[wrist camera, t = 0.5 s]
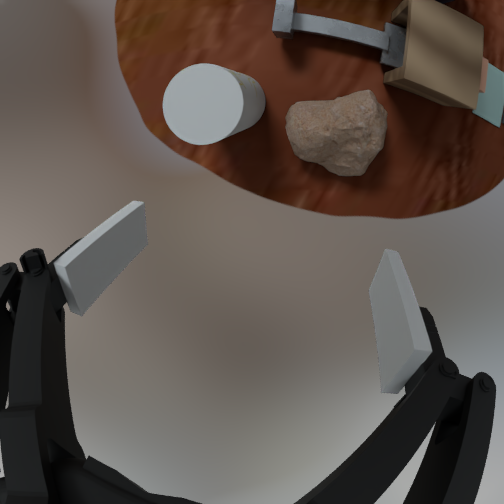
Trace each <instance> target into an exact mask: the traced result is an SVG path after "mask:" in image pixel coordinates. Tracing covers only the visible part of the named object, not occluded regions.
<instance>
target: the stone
mask: <svg viewBox="0 0 504 504" xmlns="http://www.w3.org/2000/svg"><path fill="white" fill-rule="evenodd" d="M387 115H388V114H387V112H386V110H385V109H384V108H383V106H382V105H381V104H379V103H378V102H377V99H376V97H375V95H374V94H373V92H372V91H370V90H365V91H358V92H355V93H352V94H350V95H348V96H344V97H337V98H336V99H335V100H328V101H322V100H320V101H301V102H296V103H295V104H294V105H292V106H291V107H290V108H289V111H288V113H287V115H286V117H285V119H286V123H287V124H286V127H285V128H286V131H287V135H288V139H289V141H290V143H291V146H292V149H293V151H294V154H295V155H296V156H298V157H299V158H300V159H302V160H305V161H307V162H312V163H318V164H319V165H322V166H324V167H325V168H326V169H327V170H328V171H330V172H332V173H335V174H337V175H339V176H361V175H362V174H364V173H365V172H366V169H367V167H368V166H369V164H370V163H371V162H372V161H373V160H374V158H375V156H376V155H377V154H378V152H379V151H380V150H382V148H383V147H384V139H385V134H386V129H387V121H386V119H387Z"/></svg>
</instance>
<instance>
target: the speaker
mask: <svg viewBox="0 0 504 504" xmlns="http://www.w3.org/2000/svg"><path fill="white" fill-rule="evenodd" d="M435 1H437V2H439V3H441V4H443V3H447V2H451V1H454V0H435Z"/></svg>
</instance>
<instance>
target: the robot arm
mask: <svg viewBox="0 0 504 504" xmlns="http://www.w3.org/2000/svg"><path fill="white" fill-rule="evenodd" d="M147 245H148V241H147V230H146V217H145V203H144V202H139V201H132V202H131V203H129V204H128V205H127V206H125V207H124V208H122V209H121V210H120V211H118V212H117V213H115V214H114V215H113V216H111V217H110V218H109V219H107V220H106V221H105V222H103V223H102V224H101V225H99V226H98V227H97V228H96V229H94V230H93V231H92V232H90V233H89V234H88V235H86V236H85V237H83V238H81V239H79V240H77V241H75V242H74V243H73V244H72V245H70V247H68V248H67V249H66V250H65V251H63V252H62V253H61V254H60V255H58V256H57V257H56V258H55V259H54V260H52V261H51V262H50V263H49V264H47V261H46V258H45V254H44V251H43V250H42V249H39V248H35V249H31V250H28V251H27V252H25V253H24V254H23V255H22V256H21V257H20V262H21V265H22V268H23V271H24V272H19V270H18V267H17V265H16V264H15V263H6V264H4V265H3V266H1V267H0V441H1V453H2V461H3V469H4V475H5V477H2V478H0V504H201V503H198V502H194V501H191V500H188V499H184V498H179V497H172V496H165V495H158V494H152V493H148V492H147V491H145V490H144V489H143V488H141V487H140V486H138V485H137V484H136V483H134V482H132V481H131V480H129V479H128V478H127V477H125V476H124V475H122V474H121V473H119V472H118V471H116V470H115V469H113V468H110V467H109V466H107V465H105V464H103V463H101V462H99V461H97V460H96V459H94V458H92V457H90V456H88V458H87V459H86V458H85V454H84V452H83V449H82V447H81V446H80V444H79V442H78V440H77V438H76V434H75V429H74V424H73V417H72V412H71V404H70V397H69V389H68V379H67V368H66V352H65V311H64V308H63V305H64V304H65V303H66V302H67V303H68V306H69V308H70V310H71V312H73V313H75V314H78V315H80V316H83V314H84V313H85V312H86V311H87V310H88V308H89V307H90V306H91V305H92V304H93V303H94V301H96V299H97V298H98V297H99V296H100V295H101V294H102V293H103V291H104V290H105V289H106V288H107V287H108V286H109V285H110V284H111V283H112V282H113V280H114V279H115V278H116V277H117V276H118V275H119V274H120V273H121V272H122V271H123V270H124V268H126V266H127V265H128V264H129V263H130V262H131V261H132V260H133V259H134V258H135V257H136V256H137V255H138V254H139V253H140V252H141V251H142V250H143V249H144V248H145V247H146V246H147ZM369 296H370V302H371V308H372V314H373V321H374V327H375V334H376V343H377V350H378V360H379V370H380V382H381V392H382V393H394V394H397V393H399V391H400V390H401V389H402V388H403V387H404V386H405V392H406V394H405V395H404V396H403V397H402V398H401V400H399V402H398V403H397V404H396V405H395V406H394V408H393V410H392V411H391V412H390V414H389V415H388V416H387V417H386V418H385V419H384V420H383V422H382V423H381V424H380V425H379V426H378V427H377V428H376V430H375V431H374V432H373V433H372V434H371V435H370V436H369V437H368V438H367V439H366V441H364V442H363V444H361V445H360V447H359V448H358V449H357V450H356V451H355V452H354V453H353V454H352V455H351V456H350V457H348V458H347V459H346V461H344V462H343V463H342V464H341V465H340V466H339V467H338V468H337V469H336V470H335V471H333V472H332V473H331V474H330V475H329V476H328V477H327V478H326V479H324V480H323V481H322V482H321V483H320V484H318V485H317V486H316V487H315V488H313V489H312V490H311V491H310V492H309V493H307V494H306V495H305V496H303V497H302V498H301V499H299V500H298V501H297V502H296V503H294V504H374V503H375V502H376V501H377V500H378V498H379V497H380V496H381V495H382V494H383V493H384V492H385V491H386V490H387V488H388V487H389V486H390V485H391V483H392V482H393V481H394V480H395V479H396V478H397V476H398V475H399V474H400V472H401V471H402V470H403V469H404V467H405V466H406V465H407V463H408V462H409V461H410V459H411V458H412V457H413V455H414V454H415V452H416V451H417V450H418V448H419V447H420V445H421V444H422V442H423V441H424V439H425V438H426V436H427V435H428V433H429V432H430V430H431V428H432V427H433V425H434V424H435V426H434V430H433V433H432V436H431V439H430V441H429V444H428V447H427V450H426V453H425V455H424V458H423V460H422V463H421V465H420V468H419V470H418V472H417V475H416V477H415V479H414V481H413V484H412V486H411V488H410V491H409V492H408V494H407V496H406V498H405V500H404V502H403V504H474V502H475V498H476V495H477V493H478V489H479V486H480V482H481V479H482V475H483V471H484V467H485V463H486V459H487V454H488V449H489V444H490V438H491V432H492V426H493V418H494V409H495V398H496V385H495V383H494V380H493V379H492V378H491V376H489V375H488V374H487V373H484V372H479V373H477V374H476V375H475V376H474V377H473V378H472V379H471V378H469V377H466V376H464V375H461V374H459V370H458V367H457V366H456V364H455V363H454V362H453V361H452V360H450V359H449V358H446V357H445V353H444V350H443V347H442V343H441V340H440V337H439V334H438V331H437V328H436V327H435V322H434V319H433V316H432V315H431V314H430V312H429V311H428V310H427V308H424V307H419V306H418V302H417V300H416V297H415V294H414V291H413V288H412V286H411V283H410V280H409V277H408V275H407V273H406V270H405V267H404V265H403V262H402V260H401V257H400V255H399V252H398V251H394V250H390V249H385V250H384V253H383V256H382V258H381V261H380V264H379V266H378V269H377V271H376V274H375V276H374V279H373V281H372V283H371V286H370V288H369ZM7 301H8V303H9V305H10V310H9V311H8V310H7V308H6V303H7ZM8 392H9V406H8V408H7V409H5V406H6V401H7V397H8ZM435 422H436V423H435ZM0 472H1V471H0Z"/></svg>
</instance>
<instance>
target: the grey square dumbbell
mask: <svg viewBox="0 0 504 504" xmlns="http://www.w3.org/2000/svg"><path fill="white" fill-rule="evenodd" d="M272 31H273V33H274V34H275V36H276V37H277V38H283V39H291V40H293V36H294V31H296V32H303V33H309V34H315V35H321V36H326V37H331V38H336V39H340V40H345V41H349V42H353V43H357V44H361V45H365V46H368V47H372V48H375V49H378V50H381V56H380V63H381V64H384V65H387V66H390V67H393V68H399V67H402V66H403V59H404V51H405V42H406V32H407V29H404V28H402V27H399V26H396V25H393V24H390V23H387V22H386V23H385V24H384V31H383V32H382V31H379V30H375V29H372V28H368V27H365V26H361V25H357V24H353V23H349V22H344V21H340V20H335V19H330V18H325V17H319V16H313V15H307V14H300V13H297V2H296V0H276V7H275V13H274V20H273V27H272Z"/></svg>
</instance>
